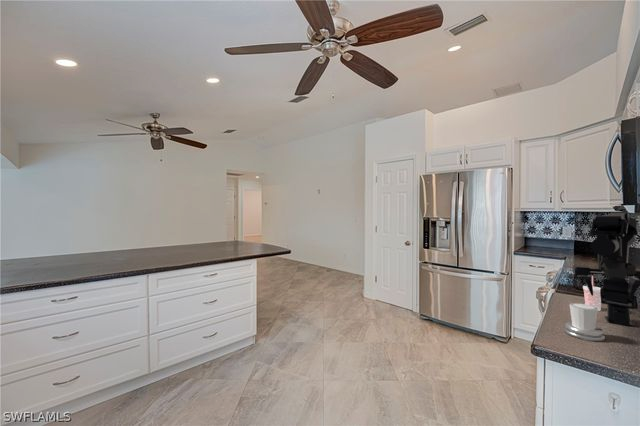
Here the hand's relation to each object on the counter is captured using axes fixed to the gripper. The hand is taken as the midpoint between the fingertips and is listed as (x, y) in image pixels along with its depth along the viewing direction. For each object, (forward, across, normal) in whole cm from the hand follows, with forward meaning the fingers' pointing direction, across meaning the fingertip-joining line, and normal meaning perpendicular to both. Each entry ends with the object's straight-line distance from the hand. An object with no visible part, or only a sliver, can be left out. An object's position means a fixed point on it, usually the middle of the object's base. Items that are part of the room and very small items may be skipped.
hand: (610, 297), depth 96 cm
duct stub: (+11, -8, -9) cm, 17 cm away
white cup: (+9, -8, -9) cm, 15 cm away
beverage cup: (+12, 0, +27) cm, 29 cm away
